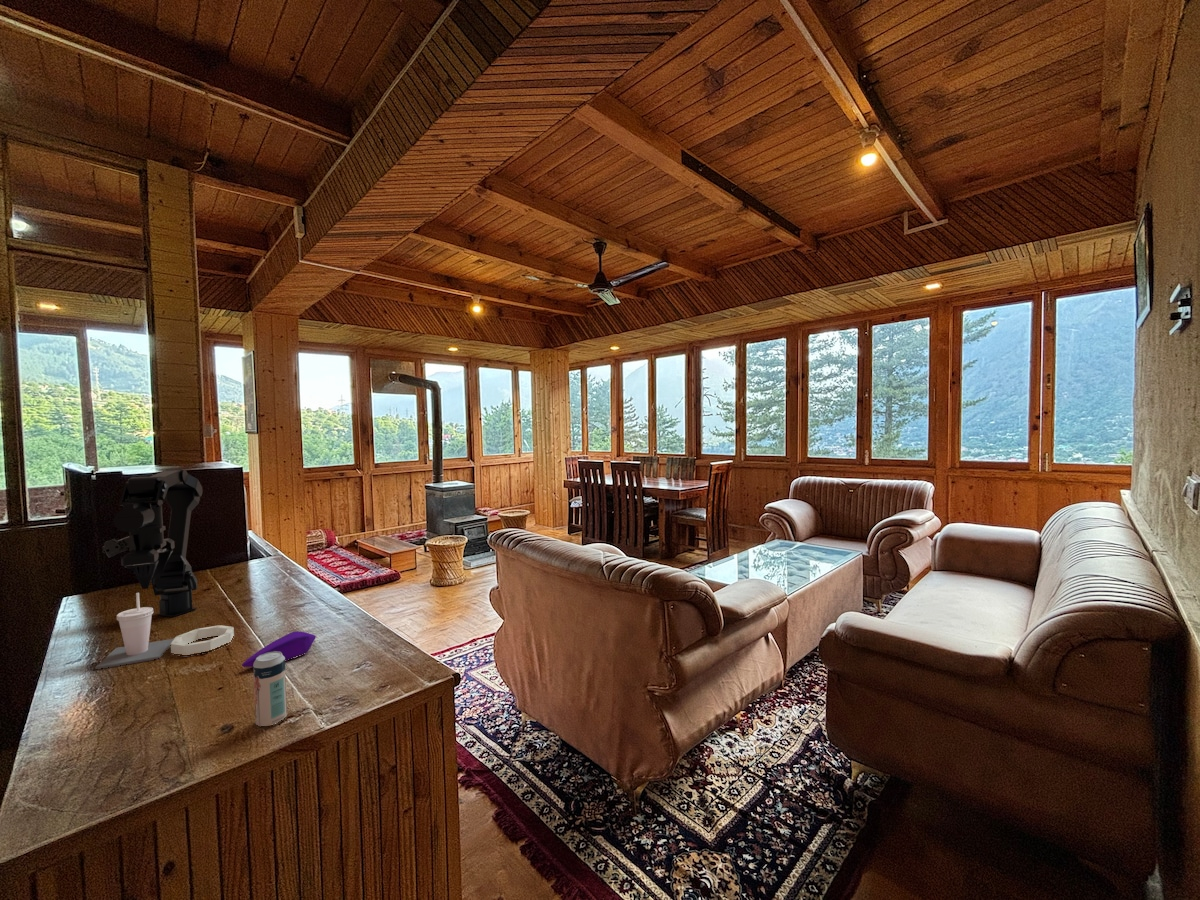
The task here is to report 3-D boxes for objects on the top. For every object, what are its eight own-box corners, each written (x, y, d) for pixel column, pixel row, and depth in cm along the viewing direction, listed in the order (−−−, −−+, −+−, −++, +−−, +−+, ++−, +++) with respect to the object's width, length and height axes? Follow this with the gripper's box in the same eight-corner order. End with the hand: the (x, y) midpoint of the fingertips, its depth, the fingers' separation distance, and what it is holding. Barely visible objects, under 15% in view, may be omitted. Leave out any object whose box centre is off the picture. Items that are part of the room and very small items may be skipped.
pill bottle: (265, 714, 91) (262, 650, 91) (292, 712, 92) (290, 649, 91) (249, 730, 87) (246, 663, 86) (278, 728, 87) (275, 661, 86)
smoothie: (155, 651, 117) (152, 593, 116) (117, 660, 112) (114, 600, 112) (155, 643, 121) (152, 587, 121) (119, 651, 117) (115, 593, 116)
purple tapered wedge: (237, 652, 109) (310, 624, 120) (240, 673, 109) (313, 643, 121) (243, 658, 106) (318, 629, 117) (247, 679, 106) (321, 648, 118)
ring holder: (211, 633, 129) (210, 623, 129) (243, 638, 125) (243, 628, 125) (161, 652, 118) (160, 642, 118) (195, 658, 114) (195, 647, 114)
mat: (116, 650, 119) (116, 647, 119) (174, 640, 124) (174, 638, 124) (95, 669, 109) (95, 667, 109) (159, 658, 114) (159, 656, 114)
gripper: (120, 522, 133) (123, 579, 133) (90, 534, 116) (93, 599, 117) (173, 518, 138) (176, 573, 139) (152, 529, 121) (155, 592, 122)
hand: (151, 583), depth 129 cm, fingers open, 9 cm apart
